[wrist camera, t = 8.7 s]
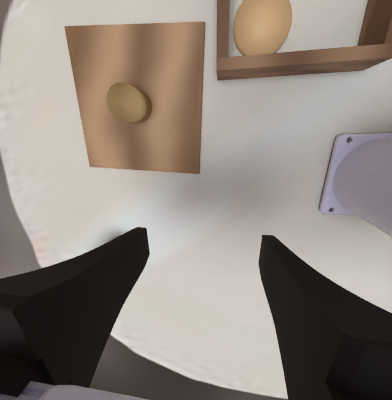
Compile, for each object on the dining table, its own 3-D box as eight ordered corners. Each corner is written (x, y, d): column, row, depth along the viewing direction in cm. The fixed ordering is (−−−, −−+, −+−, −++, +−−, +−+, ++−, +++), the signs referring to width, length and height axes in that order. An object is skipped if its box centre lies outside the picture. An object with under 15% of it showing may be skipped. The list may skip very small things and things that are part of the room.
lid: (205, 26, 16) (200, -2, 13) (199, 172, 21) (195, 180, 17) (71, 30, 18) (33, 6, 14) (94, 165, 22) (70, 172, 19)
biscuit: (289, -10, 14) (294, -20, 14) (285, 57, 16) (289, 53, 15) (232, 1, 15) (233, -8, 14) (233, 64, 17) (234, 61, 16)
